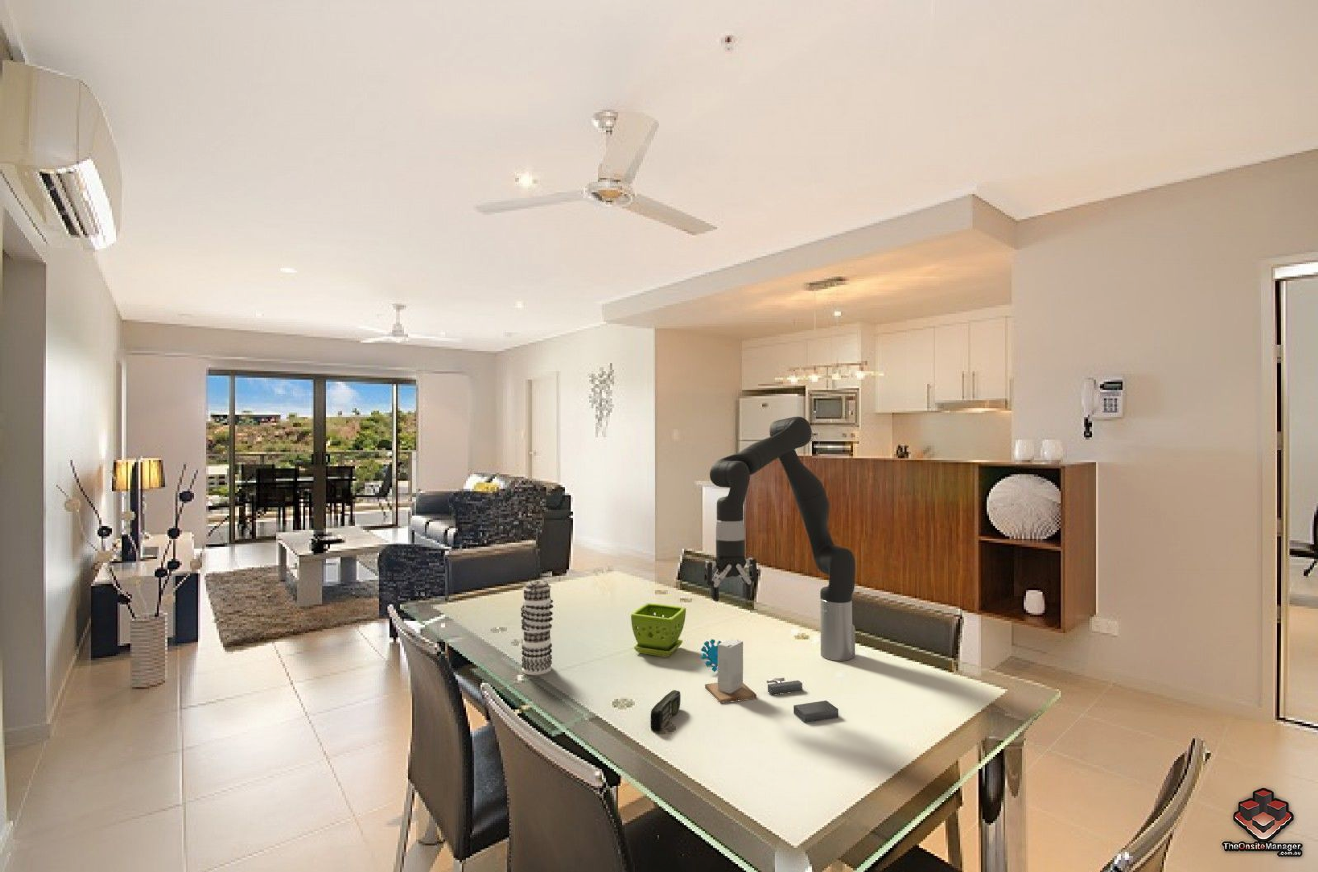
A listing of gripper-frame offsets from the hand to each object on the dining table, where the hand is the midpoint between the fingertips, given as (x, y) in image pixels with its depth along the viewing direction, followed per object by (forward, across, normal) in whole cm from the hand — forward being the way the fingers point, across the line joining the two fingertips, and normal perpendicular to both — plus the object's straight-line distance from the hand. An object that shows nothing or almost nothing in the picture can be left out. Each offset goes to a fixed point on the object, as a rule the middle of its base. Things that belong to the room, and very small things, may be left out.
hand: (730, 599), depth 155 cm
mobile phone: (+24, +21, +8) cm, 33 cm away
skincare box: (+23, 0, 0) cm, 23 cm away
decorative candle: (+24, +46, -32) cm, 61 cm away
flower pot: (+24, +8, -36) cm, 44 cm away
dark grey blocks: (+24, -13, +10) cm, 29 cm away
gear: (+24, -3, -16) cm, 29 cm away
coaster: (+24, +1, 0) cm, 24 cm away
